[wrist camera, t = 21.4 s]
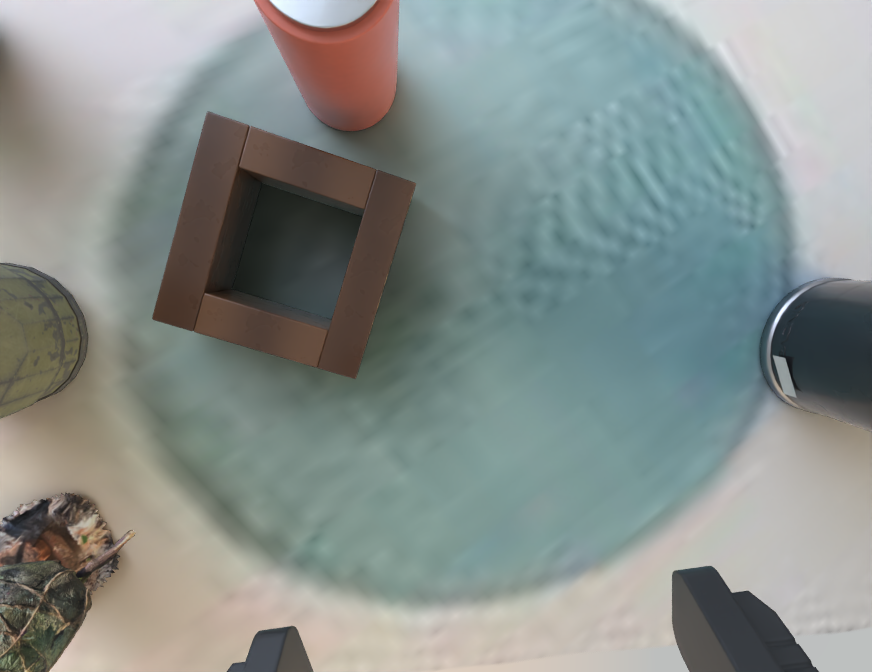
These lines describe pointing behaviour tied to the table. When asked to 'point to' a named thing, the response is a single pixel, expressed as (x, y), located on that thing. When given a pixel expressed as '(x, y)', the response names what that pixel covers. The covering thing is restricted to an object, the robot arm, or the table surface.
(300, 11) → the can
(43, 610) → the plant with pod
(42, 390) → the thermos
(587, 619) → the table surface
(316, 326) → the holder
